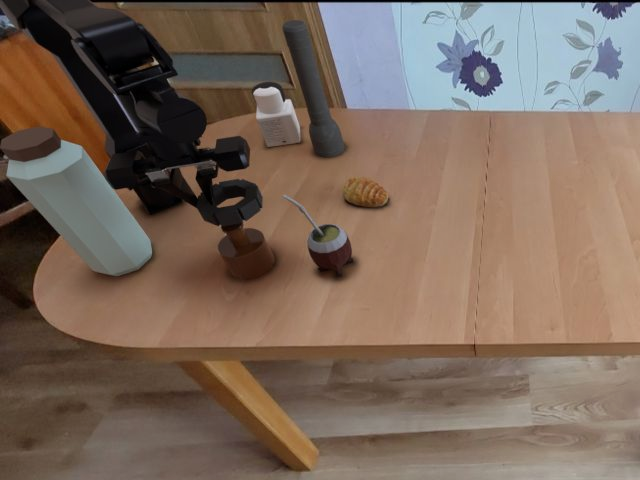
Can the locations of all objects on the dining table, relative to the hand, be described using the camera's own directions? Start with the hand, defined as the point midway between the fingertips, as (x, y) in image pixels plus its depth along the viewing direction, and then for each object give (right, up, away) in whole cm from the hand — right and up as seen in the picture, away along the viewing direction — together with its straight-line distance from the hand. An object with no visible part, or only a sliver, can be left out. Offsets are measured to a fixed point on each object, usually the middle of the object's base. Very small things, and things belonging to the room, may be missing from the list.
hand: (206, 205), depth 77 cm
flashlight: (+8, +19, +35) cm, 41 cm away
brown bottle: (+3, -9, +9) cm, 13 cm away
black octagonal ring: (+4, 0, +2) cm, 4 cm away
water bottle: (-20, -9, +9) cm, 24 cm away
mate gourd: (+18, -10, +9) cm, 22 cm away
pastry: (+20, +5, +23) cm, 31 cm away
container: (-5, +23, +38) cm, 45 cm away
